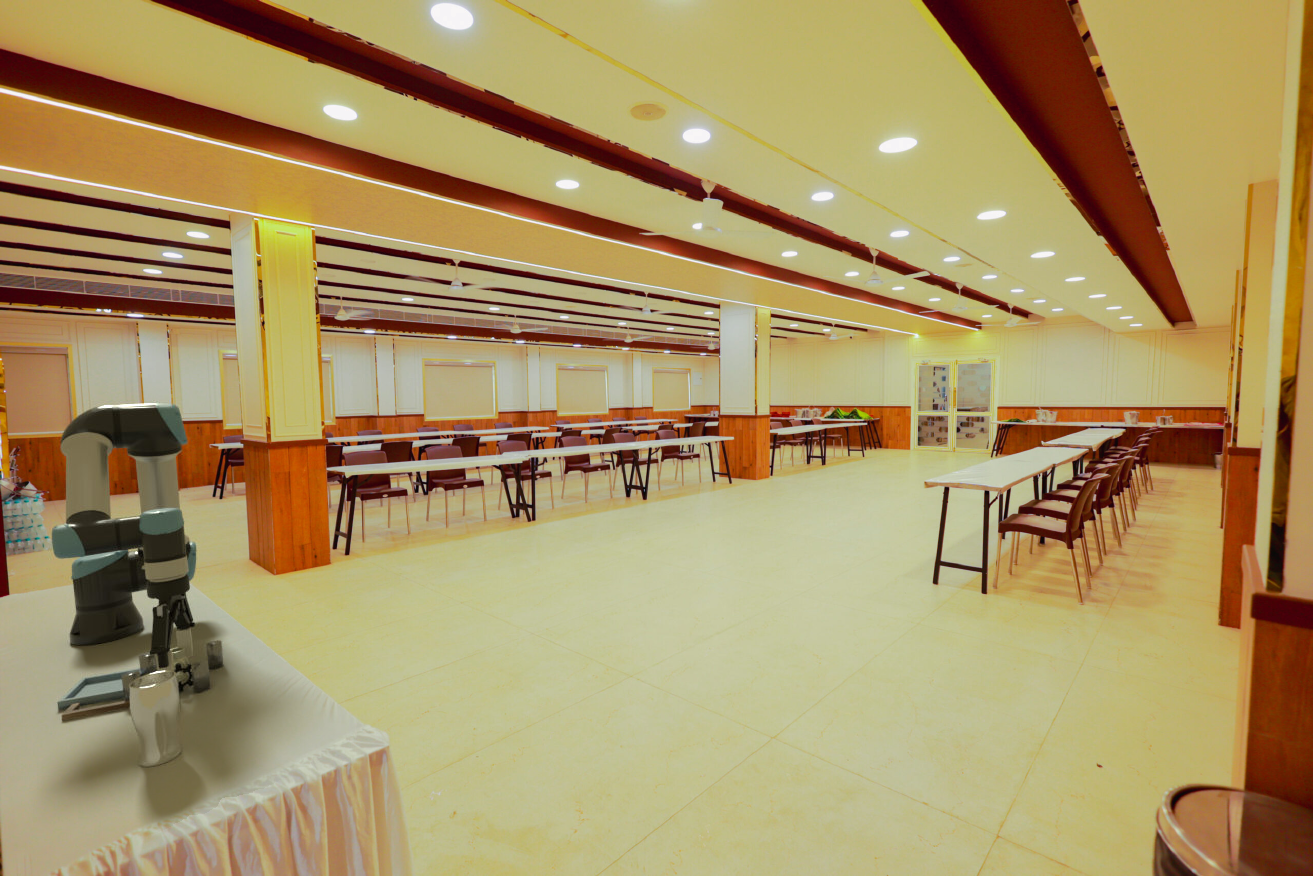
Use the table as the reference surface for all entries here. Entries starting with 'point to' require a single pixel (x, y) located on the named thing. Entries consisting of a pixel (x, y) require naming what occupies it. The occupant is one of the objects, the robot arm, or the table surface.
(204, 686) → the spacers
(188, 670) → the valve
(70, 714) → the hook tool
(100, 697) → the tray
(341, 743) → the table surface
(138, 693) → the beer glass
